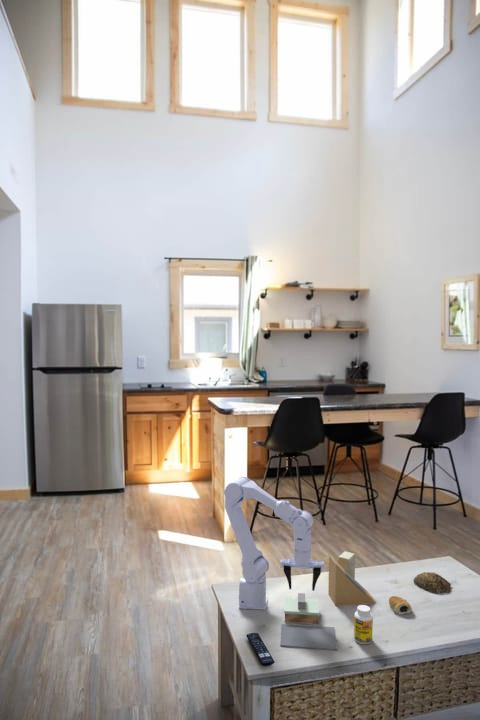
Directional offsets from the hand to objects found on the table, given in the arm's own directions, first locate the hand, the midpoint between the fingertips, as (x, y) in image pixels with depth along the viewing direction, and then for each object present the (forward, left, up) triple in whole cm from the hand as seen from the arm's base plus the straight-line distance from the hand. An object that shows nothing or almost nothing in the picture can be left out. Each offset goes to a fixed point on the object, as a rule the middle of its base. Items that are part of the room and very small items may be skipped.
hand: (301, 588), depth 179 cm
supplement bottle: (+19, -12, -10) cm, 24 cm away
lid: (0, 0, -7) cm, 7 cm away
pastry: (+34, +9, -10) cm, 36 cm away
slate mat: (+2, -13, -9) cm, 16 cm away
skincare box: (+17, +23, -10) cm, 30 cm away
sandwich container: (+18, +14, -10) cm, 25 cm away
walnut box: (0, 0, -9) cm, 9 cm away
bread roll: (+50, +28, -10) cm, 58 cm away
